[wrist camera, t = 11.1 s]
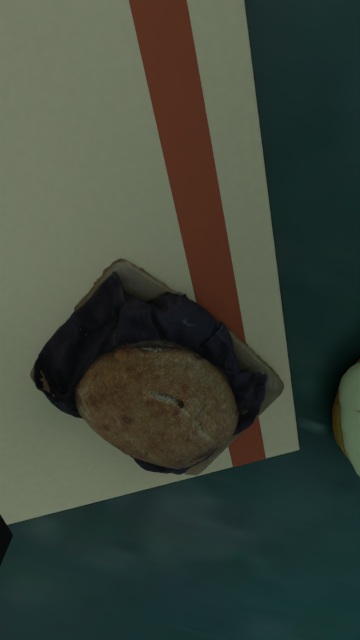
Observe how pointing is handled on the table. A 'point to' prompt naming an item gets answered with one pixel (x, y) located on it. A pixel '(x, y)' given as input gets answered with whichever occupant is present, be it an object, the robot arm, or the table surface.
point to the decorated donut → (348, 415)
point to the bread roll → (154, 373)
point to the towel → (126, 214)
